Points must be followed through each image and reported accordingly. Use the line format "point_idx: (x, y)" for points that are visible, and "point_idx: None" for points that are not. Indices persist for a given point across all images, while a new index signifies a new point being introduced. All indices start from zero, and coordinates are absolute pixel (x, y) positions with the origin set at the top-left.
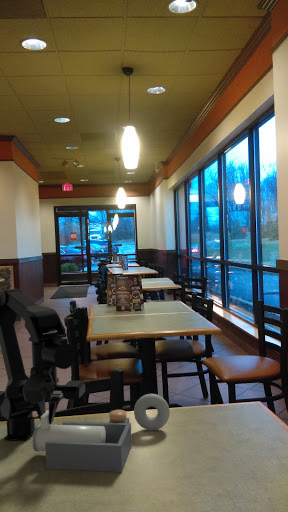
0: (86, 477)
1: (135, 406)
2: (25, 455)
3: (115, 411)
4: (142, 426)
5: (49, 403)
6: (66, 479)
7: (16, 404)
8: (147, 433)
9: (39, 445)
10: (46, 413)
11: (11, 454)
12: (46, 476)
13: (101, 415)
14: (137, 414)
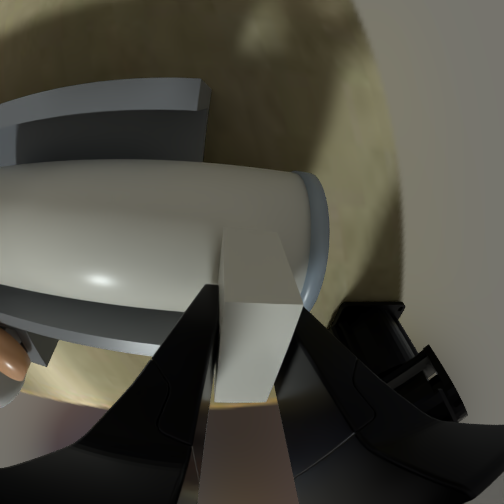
0: (45, 58)
1: (7, 387)
2: (332, 205)
3: (13, 373)
4: None
5: (149, 489)
6: (107, 26)
7: (435, 400)
8: None
9: (269, 169)
10: (253, 367)
11: (382, 216)
12: (194, 32)
13: None
14: None
